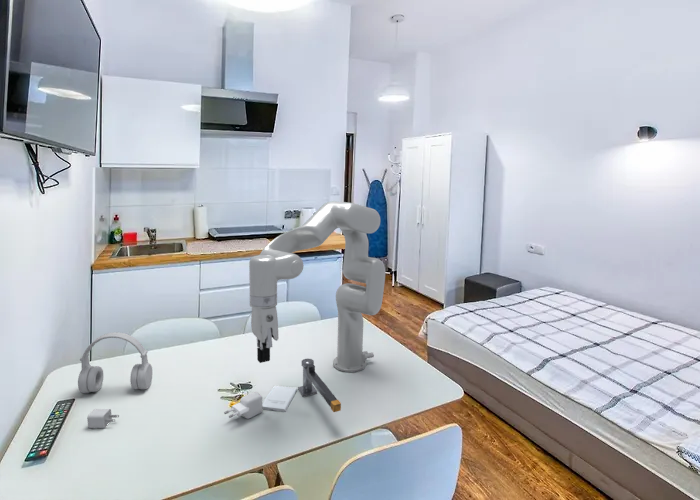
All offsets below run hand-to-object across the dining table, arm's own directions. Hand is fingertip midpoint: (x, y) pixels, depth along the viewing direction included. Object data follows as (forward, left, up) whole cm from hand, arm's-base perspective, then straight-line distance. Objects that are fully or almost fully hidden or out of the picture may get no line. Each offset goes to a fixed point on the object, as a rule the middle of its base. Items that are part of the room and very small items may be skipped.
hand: (263, 360), depth 116 cm
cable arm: (-17, +2, -11) cm, 20 cm away
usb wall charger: (+42, -14, -19) cm, 48 cm away
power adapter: (+6, -2, -18) cm, 19 cm away
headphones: (+41, -34, -19) cm, 56 cm away
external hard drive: (-7, -8, -19) cm, 22 cm away
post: (-16, -9, -18) cm, 26 cm away
